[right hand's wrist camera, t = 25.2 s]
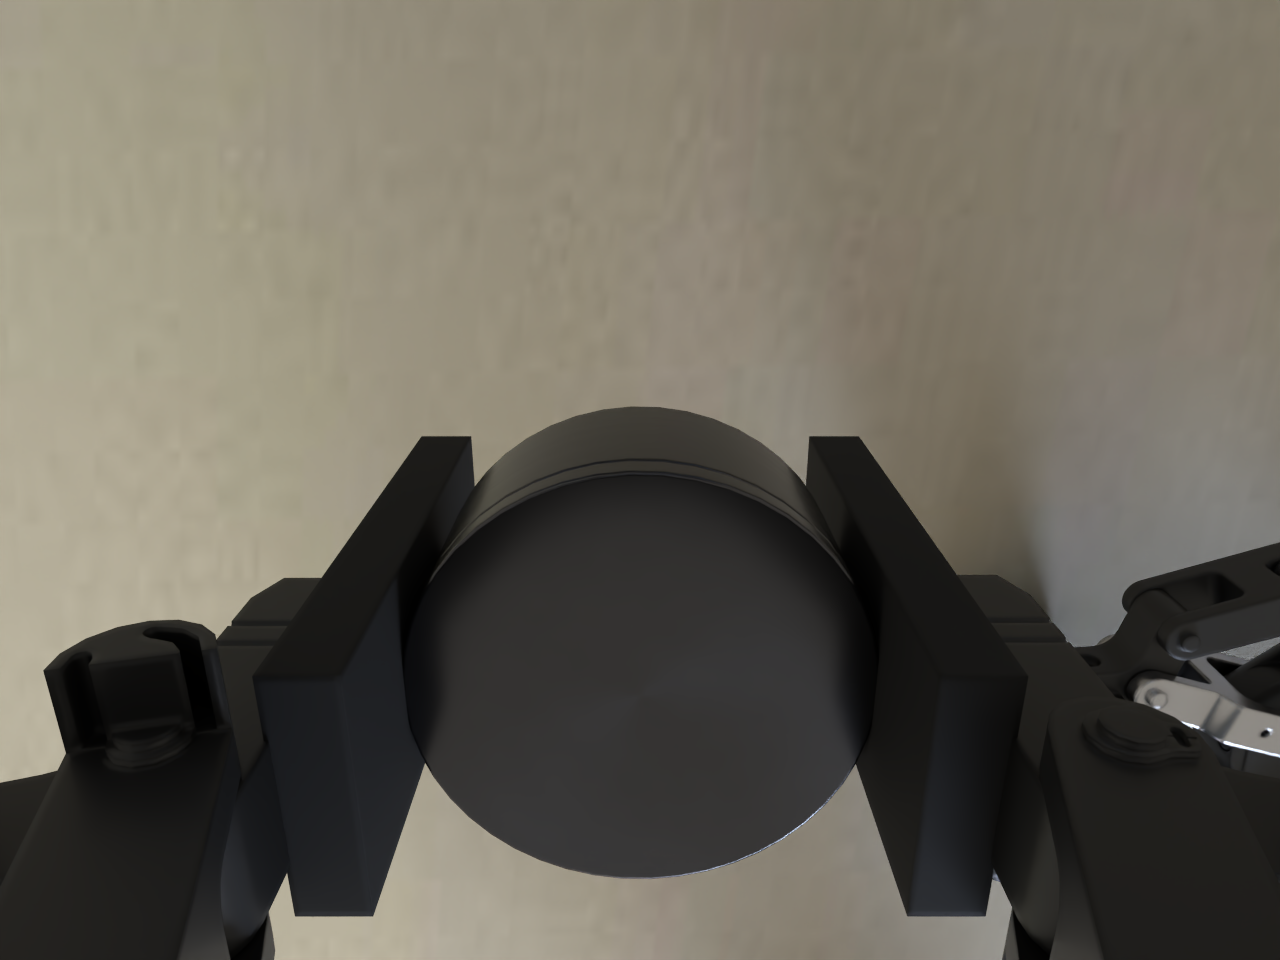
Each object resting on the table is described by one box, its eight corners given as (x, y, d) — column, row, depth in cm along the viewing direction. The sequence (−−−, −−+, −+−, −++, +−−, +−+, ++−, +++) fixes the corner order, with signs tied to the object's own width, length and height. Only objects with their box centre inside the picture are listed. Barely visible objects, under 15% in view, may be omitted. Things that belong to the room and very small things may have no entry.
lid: (904, 484, 12) (965, 566, 9) (747, 797, 13) (768, 926, 11) (510, 346, 11) (477, 399, 9) (400, 693, 13) (351, 810, 11)
